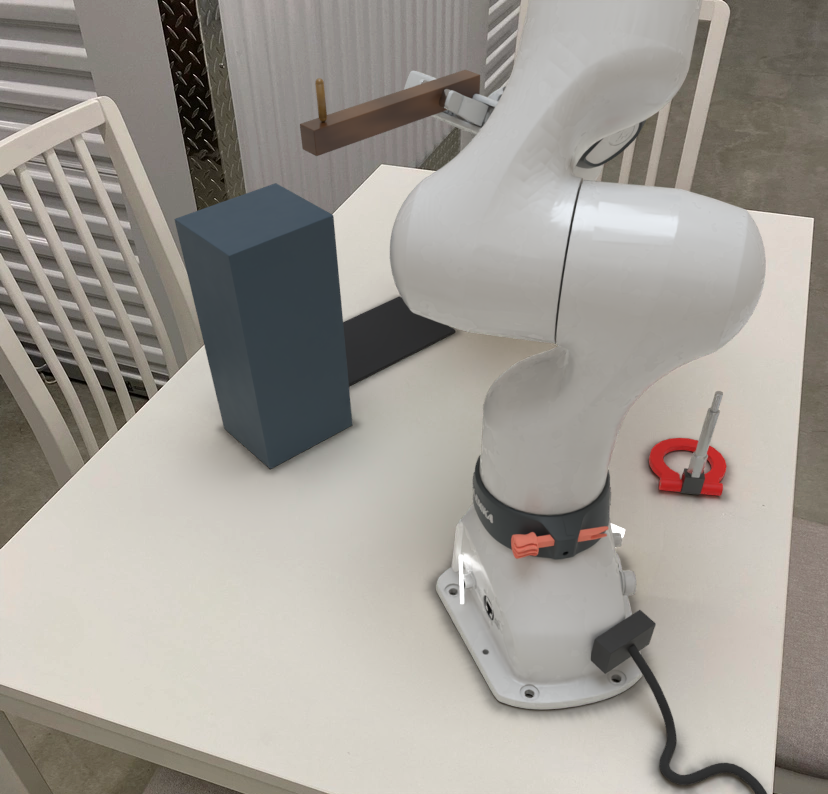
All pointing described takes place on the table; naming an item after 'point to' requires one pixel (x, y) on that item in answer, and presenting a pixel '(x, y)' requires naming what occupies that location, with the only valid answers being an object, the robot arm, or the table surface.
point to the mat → (387, 337)
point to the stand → (270, 319)
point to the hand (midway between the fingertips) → (433, 92)
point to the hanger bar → (380, 112)
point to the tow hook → (692, 460)
